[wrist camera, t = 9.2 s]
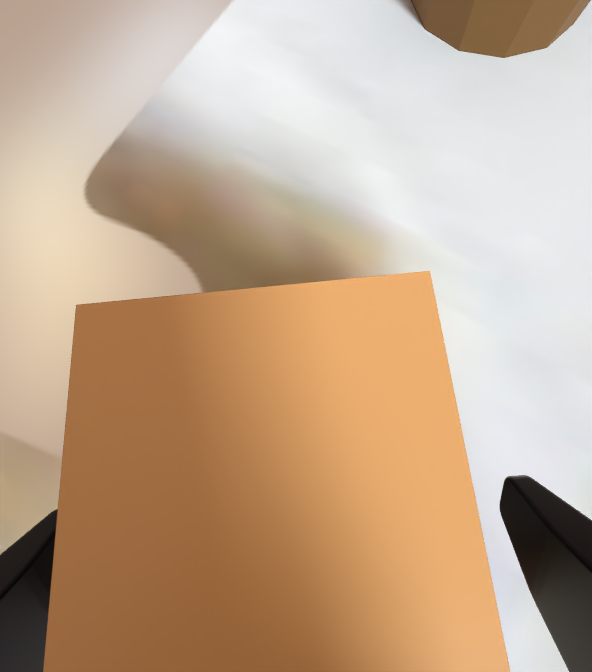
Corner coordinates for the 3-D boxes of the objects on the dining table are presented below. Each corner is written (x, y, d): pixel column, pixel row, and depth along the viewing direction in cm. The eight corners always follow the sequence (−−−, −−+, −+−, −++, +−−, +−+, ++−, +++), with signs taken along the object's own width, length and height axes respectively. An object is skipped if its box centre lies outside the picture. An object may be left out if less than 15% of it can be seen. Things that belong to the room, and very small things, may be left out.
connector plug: (363, 519, 16) (519, 714, 4) (252, 528, 16) (36, 747, 4) (349, 408, 17) (429, 271, 5) (247, 417, 17) (76, 304, 5)
